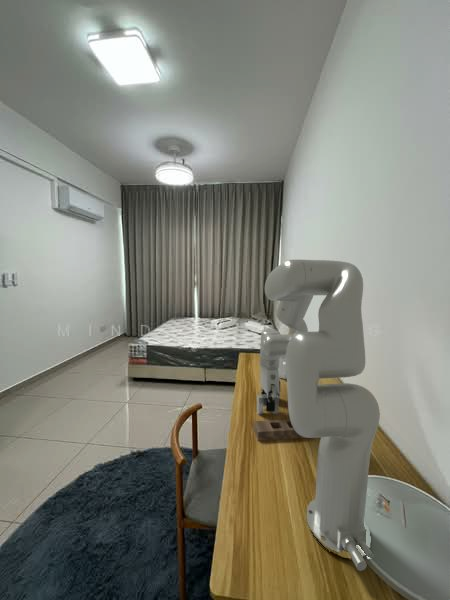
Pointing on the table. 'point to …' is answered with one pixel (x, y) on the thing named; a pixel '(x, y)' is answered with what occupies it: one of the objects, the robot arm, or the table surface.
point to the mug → (282, 367)
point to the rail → (275, 430)
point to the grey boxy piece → (262, 402)
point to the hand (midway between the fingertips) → (267, 405)
